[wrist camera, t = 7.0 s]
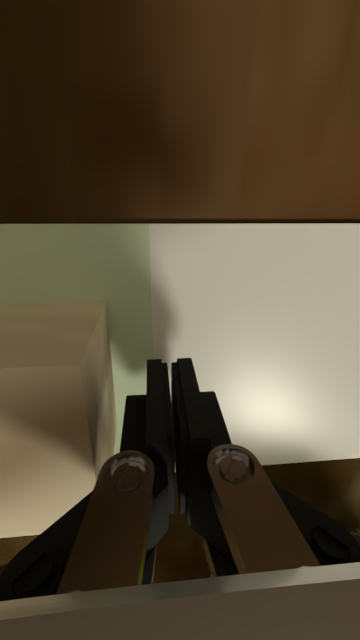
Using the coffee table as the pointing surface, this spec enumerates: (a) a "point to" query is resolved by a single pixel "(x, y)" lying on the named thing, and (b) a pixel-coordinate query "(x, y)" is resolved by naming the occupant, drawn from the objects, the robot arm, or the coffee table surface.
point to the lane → (218, 318)
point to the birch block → (52, 410)
